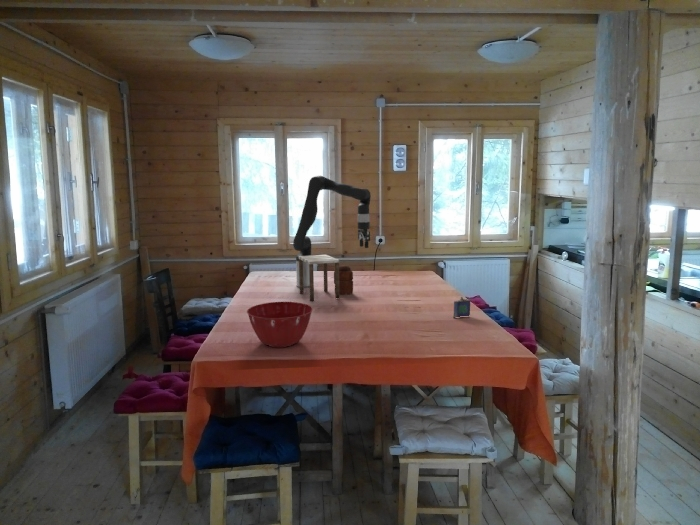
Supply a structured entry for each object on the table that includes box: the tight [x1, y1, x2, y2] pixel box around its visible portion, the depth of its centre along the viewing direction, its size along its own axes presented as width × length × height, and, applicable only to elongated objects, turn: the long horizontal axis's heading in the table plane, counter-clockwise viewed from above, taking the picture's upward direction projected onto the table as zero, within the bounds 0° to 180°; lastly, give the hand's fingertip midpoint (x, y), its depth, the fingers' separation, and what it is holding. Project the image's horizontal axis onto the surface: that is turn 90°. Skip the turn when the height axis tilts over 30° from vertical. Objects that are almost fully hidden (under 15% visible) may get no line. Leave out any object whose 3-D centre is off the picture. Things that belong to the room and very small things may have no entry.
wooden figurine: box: [333, 264, 354, 295], centre depth 340 cm, size 12×6×18 cm, turn 93°
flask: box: [453, 296, 471, 318], centre depth 282 cm, size 9×3×11 cm, turn 109°
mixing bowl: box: [246, 301, 313, 348], centre depth 241 cm, size 28×28×15 cm
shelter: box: [299, 254, 340, 302], centre depth 334 cm, size 24×18×24 cm
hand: (364, 247), depth 342 cm, fingers open, 8 cm apart
